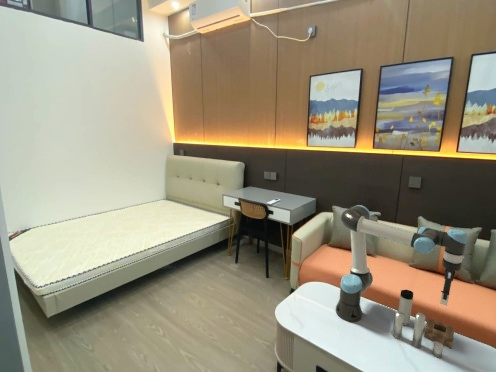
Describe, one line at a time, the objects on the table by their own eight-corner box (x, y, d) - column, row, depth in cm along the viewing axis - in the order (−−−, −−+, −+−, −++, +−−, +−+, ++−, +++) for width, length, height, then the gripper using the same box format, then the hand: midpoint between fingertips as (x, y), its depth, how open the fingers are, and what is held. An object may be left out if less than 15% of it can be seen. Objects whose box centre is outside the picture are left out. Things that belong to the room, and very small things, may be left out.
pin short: (431, 354, 132) (433, 344, 131) (432, 350, 135) (434, 340, 134) (441, 359, 129) (443, 349, 128) (442, 354, 132) (444, 344, 131)
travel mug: (403, 326, 151) (408, 295, 147) (394, 318, 157) (398, 288, 153) (412, 324, 153) (416, 293, 148) (403, 316, 159) (407, 287, 155)
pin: (392, 336, 144) (395, 314, 141) (393, 332, 147) (396, 310, 144) (400, 340, 141) (403, 317, 138) (402, 336, 144) (405, 313, 141)
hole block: (423, 337, 143) (425, 327, 142) (426, 326, 151) (428, 317, 149) (451, 348, 136) (453, 339, 134) (452, 337, 143) (454, 328, 142)
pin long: (411, 345, 138) (415, 315, 134) (412, 340, 141) (417, 311, 137) (419, 349, 135) (424, 319, 132) (421, 344, 138) (426, 314, 134)
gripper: (460, 273, 119) (452, 313, 124) (462, 253, 138) (455, 289, 143) (440, 267, 124) (433, 306, 129) (445, 249, 143) (438, 284, 147)
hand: (444, 297), depth 136 cm, fingers open, 13 cm apart
